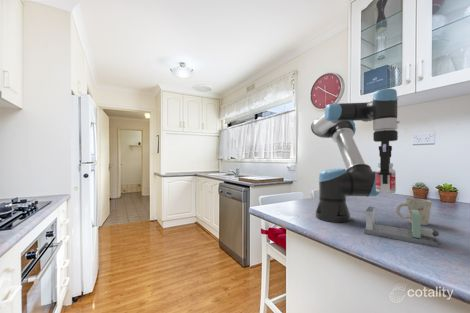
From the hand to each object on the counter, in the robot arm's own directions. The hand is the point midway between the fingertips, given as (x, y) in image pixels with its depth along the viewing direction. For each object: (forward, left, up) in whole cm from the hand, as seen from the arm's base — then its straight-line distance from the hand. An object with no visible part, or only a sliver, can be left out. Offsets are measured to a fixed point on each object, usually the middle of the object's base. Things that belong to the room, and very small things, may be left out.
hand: (385, 191), depth 80 cm
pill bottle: (0, 0, -1) cm, 1 cm away
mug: (+8, +23, -16) cm, 29 cm away
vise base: (+3, 0, -16) cm, 16 cm away
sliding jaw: (+11, 0, -14) cm, 18 cm away
